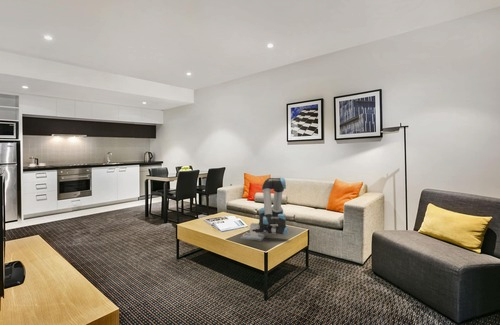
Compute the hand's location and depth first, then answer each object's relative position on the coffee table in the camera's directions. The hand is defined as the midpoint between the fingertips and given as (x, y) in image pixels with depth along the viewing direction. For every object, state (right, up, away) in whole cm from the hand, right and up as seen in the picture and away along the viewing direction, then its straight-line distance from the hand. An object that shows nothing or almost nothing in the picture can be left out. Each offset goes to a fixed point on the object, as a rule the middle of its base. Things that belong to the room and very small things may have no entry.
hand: (251, 227), depth 262 cm
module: (+3, -8, -1) cm, 9 cm away
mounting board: (+1, -9, 0) cm, 10 cm away
